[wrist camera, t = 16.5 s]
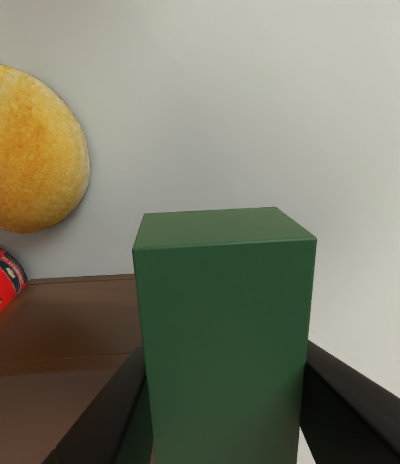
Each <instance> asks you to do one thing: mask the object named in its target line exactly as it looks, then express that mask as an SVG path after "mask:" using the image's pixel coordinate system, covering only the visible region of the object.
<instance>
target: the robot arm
mask: <svg viewBox="0 0 400 464" xmlns="http://www.w3.org/2000/svg"><path fill="white" fill-rule="evenodd" d="M299 425H300V427H301V430H302V432H303V435H304V437H305V439H306V442H307V444H308V446H309V449H310V451H311V453H312V456H313V458H314V460H315V463H316V464H400V398H398V397H397V396H395V395H394V394H392V393H391V392H389V391H387V390H386V389H384V388H383V387H381V386H380V385H378V384H376V383H375V382H373V381H372V380H370V379H369V378H367V377H366V376H364V375H362V374H361V373H359V372H358V371H356V370H355V369H353V368H351V367H350V366H348V365H347V364H345V363H344V362H342V361H340V360H339V359H337V358H336V357H334V356H333V355H331V354H330V353H328V352H326V351H325V350H323V349H322V348H320V347H319V346H317V345H315V344H314V343H312V342H311V341H309V340H308V343H307V354H306V363H305V367H304V378H303V389H302V400H301V411H300V422H299ZM152 446H153V431H152V422H151V412H150V403H149V393H148V384H147V378H146V375H145V367H144V358H143V348H142V345H138V346H136V347H135V349H134V350H133V351H132V352H131V353H130V355H129V356H128V357H127V358H126V360H125V361H124V362H123V363H122V365H121V366H120V367H119V368H118V370H117V371H116V372H115V373H114V374H113V376H112V377H111V378H110V379H109V381H108V382H107V383H106V384H105V386H104V387H103V388H102V389H101V391H100V392H99V393H98V394H97V395H96V397H95V398H94V399H93V400H92V402H91V403H90V404H89V405H88V407H87V408H86V409H85V410H84V411H83V413H82V414H81V415H80V416H79V418H78V419H77V420H76V421H75V423H74V424H73V425H72V426H71V428H70V429H69V430H68V431H67V432H66V434H65V435H64V436H63V437H62V439H61V440H60V441H59V442H58V444H57V445H56V446H55V449H53V450H52V451H51V452H50V453H49V454H48V456H47V457H46V458H45V459H44V461H43V462H42V463H41V464H150V461H151V453H152Z"/></svg>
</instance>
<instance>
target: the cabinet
mask: <svg viewBox="0 0 400 464" xmlns="http://www.w3.org/2000/svg"><path fill="white" fill-rule="evenodd" d="M138 345H142V339H141V329H140V320H139V311H138V301H137V292H136V282H135V274H122V275H103V276H84V277H65V278H47V279H31V280H30V281H29V282H28V283H27V284H26V286H25V287H24V288H23V289H22V290H21V291H20V292H19V293H18V294H17V295H16V296H15V297H14V298H13V299H12V300H11V301H10V302H9V303H8V304H7V306H6V307H5V308H4V309H3V310H2V311H1V312H0V464H41V463H42V462H43V461H44V459H45V458H46V457H47V456H48V454H49V453H50V452H51V451H52V450H53V449H55V446H56V445H57V444H58V442H59V441H60V440H61V439H62V437H63V436H64V435H65V434H66V432H67V431H68V430H69V429H70V428H71V426H72V425H73V424H74V423H75V421H76V420H77V419H78V418H79V416H80V415H81V414H82V413H83V411H84V410H85V409H86V408H87V407H88V405H89V404H90V403H91V402H92V400H93V399H94V398H95V397H96V395H97V394H98V393H99V392H100V391H101V389H102V388H103V387H104V386H105V384H106V383H107V382H108V381H109V379H110V378H111V377H112V376H113V374H114V373H115V372H116V371H117V370H118V368H119V367H120V366H121V365H122V363H123V362H124V361H125V360H126V358H127V357H128V356H129V355H130V353H131V352H132V351H133V350H134V349H135V347H136V346H138ZM150 464H155V461H154V452H153V446H152V453H151V461H150Z"/></svg>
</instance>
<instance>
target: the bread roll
mask: <svg viewBox="0 0 400 464" xmlns="http://www.w3.org/2000/svg"><path fill="white" fill-rule="evenodd" d="M90 167H91V165H90V159H89V154H88V148H87V143H86V140H85V137H84V134H83V131H82V129H81V127H80V125H79V123H78V121H77V119H76V118H75V116H74V114H73V113H72V111H71V110H70V108H69V107H68V106H67V105H66V104H65V103H64V102H63V101H62V100H61V98H60V97H58V96H57V95H56V94H55V93H54V92H53V91H52V90H51V89H50V88H49V87H48V86H47V85H45V84H43V83H42V82H41V81H39V80H38V79H37V78H35V77H33V76H32V75H30V74H28V73H25V72H23V71H20V70H17V69H14V68H10V67H7V66H4V65H1V64H0V227H1V228H3V229H5V230H8V231H11V232H16V233H34V232H38V231H41V230H44V229H46V228H48V227H51V226H53V225H55V224H56V223H58V222H60V221H61V220H62V219H64V218H65V217H66V216H67V215H68V214H69V213H70V212H71V211H72V210H73V209H74V208H75V207H76V206H77V205H78V204H79V203H80V201H81V200H82V198H83V196H84V195H85V192H86V189H87V186H88V183H89V179H90Z"/></svg>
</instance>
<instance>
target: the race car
mask: <svg viewBox="0 0 400 464" xmlns="http://www.w3.org/2000/svg"><path fill="white" fill-rule="evenodd" d="M27 283H28V281H27V277H26V275H25V272H24V270H23V268H22V267H21V265H20V264H19V263H18V261H17V260H16V259H15V258H13V257H12V256H11V255H10V254H9V253H8V252H6V251H5V250H3V249H2V248H0V312H1V311H2V310H3V309H4V308H5V307H6V306H7V304H8V303H9V302H10V301H11V300H12V299H13V298H14V297H15V296H16V295H17V294H18V293H19V292H20V291H21V290H22V289H23V288H24V287H25V286H26V284H27Z"/></svg>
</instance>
